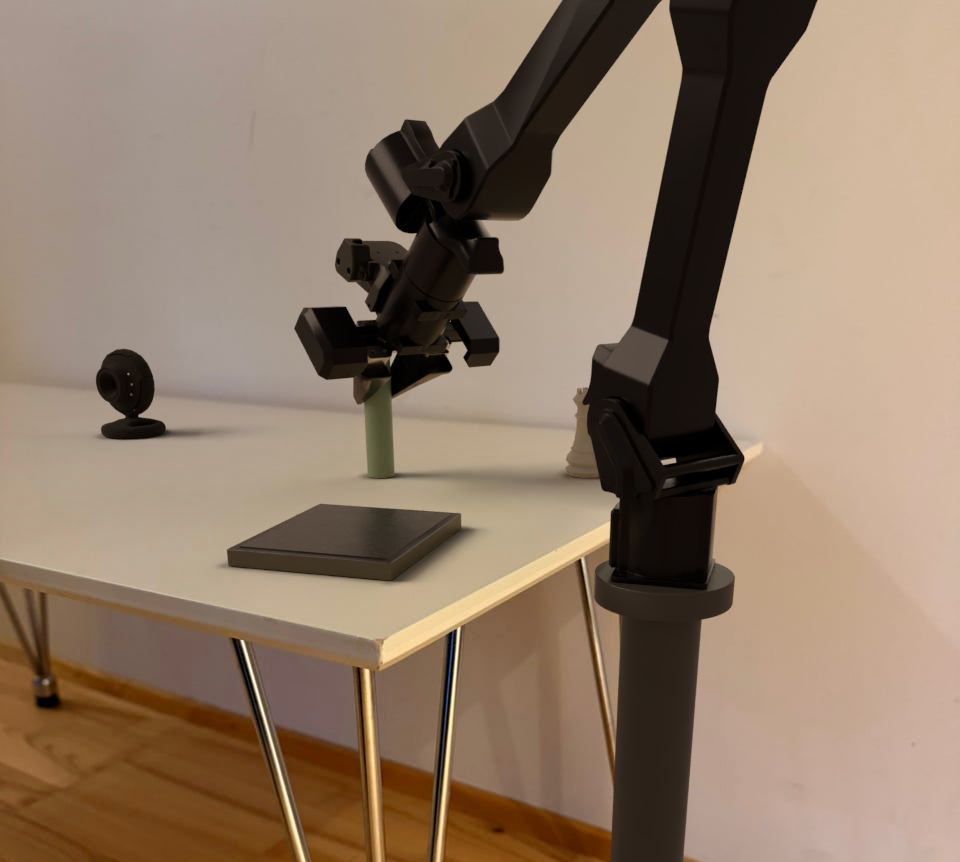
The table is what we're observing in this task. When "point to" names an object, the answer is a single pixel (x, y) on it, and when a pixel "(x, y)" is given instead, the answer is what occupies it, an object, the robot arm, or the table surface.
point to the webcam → (128, 395)
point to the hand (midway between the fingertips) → (370, 399)
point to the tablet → (347, 541)
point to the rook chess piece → (581, 443)
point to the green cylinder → (380, 432)
